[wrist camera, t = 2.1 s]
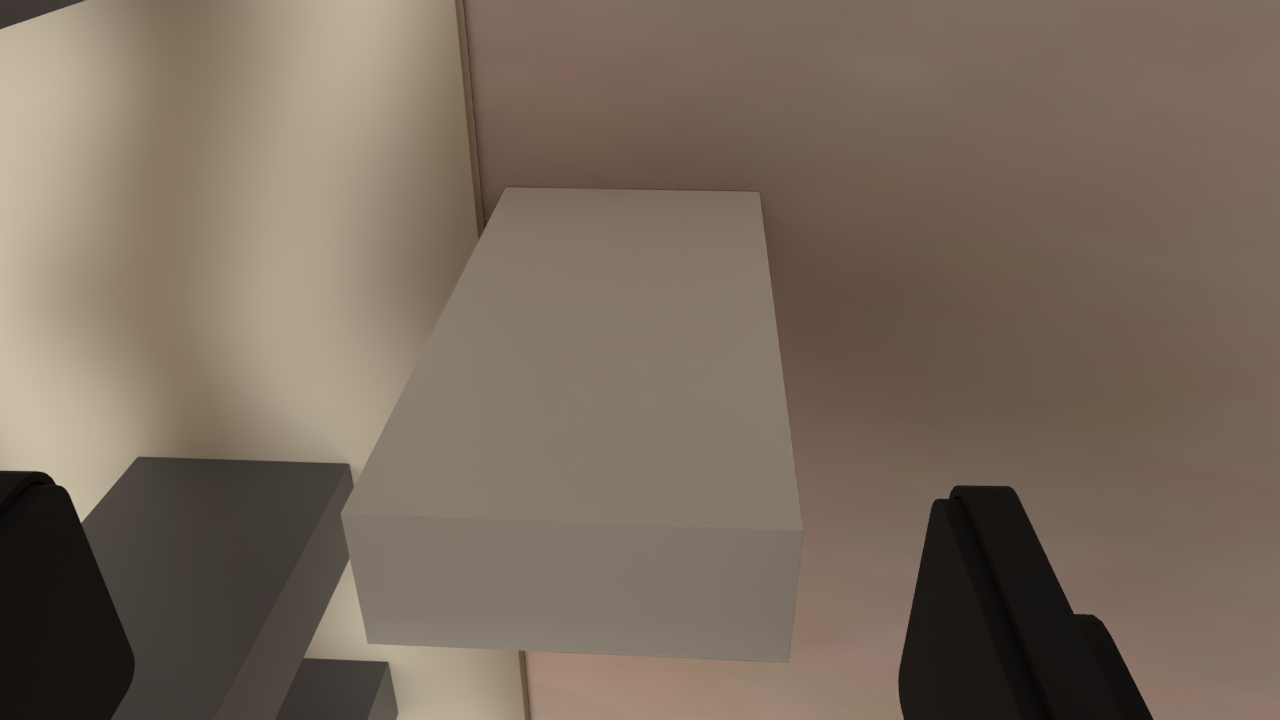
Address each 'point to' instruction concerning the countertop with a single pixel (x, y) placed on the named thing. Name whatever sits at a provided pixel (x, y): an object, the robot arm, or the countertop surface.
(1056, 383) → the countertop surface
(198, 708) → the domino
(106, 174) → the board
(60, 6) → the domino
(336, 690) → the domino
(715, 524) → the domino
